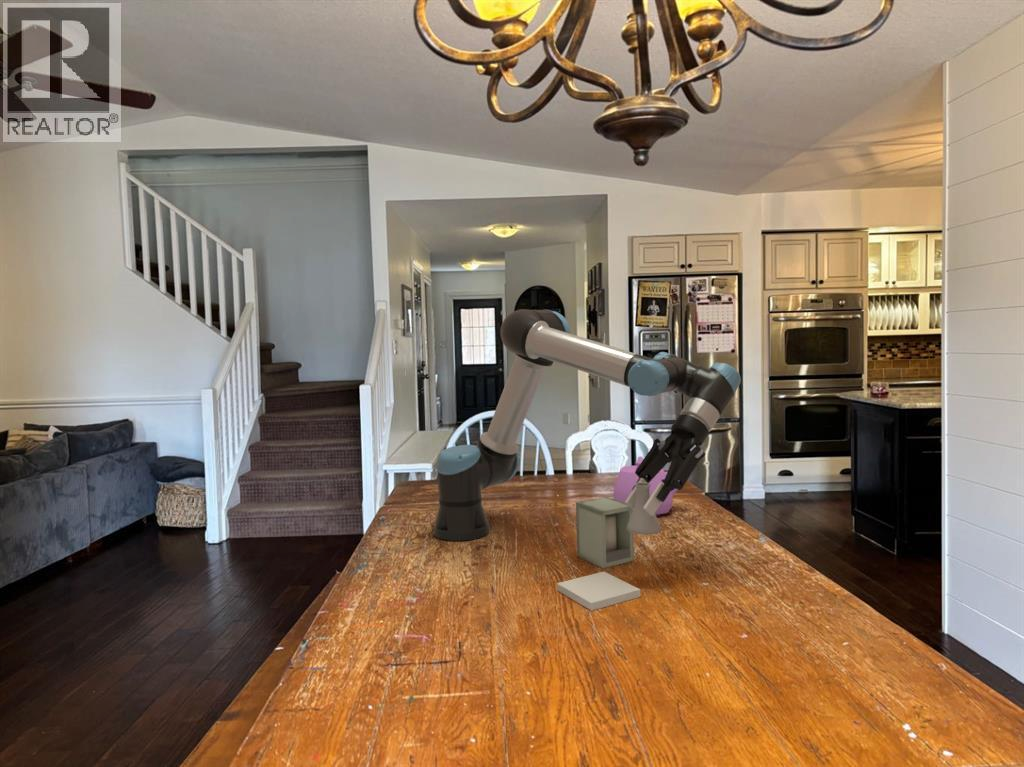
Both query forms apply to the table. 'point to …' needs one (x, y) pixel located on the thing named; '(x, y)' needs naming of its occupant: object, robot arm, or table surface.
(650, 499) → the robot arm
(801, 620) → the table surface
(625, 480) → the teapot
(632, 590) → the plate
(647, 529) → the flask
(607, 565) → the dispenser box
